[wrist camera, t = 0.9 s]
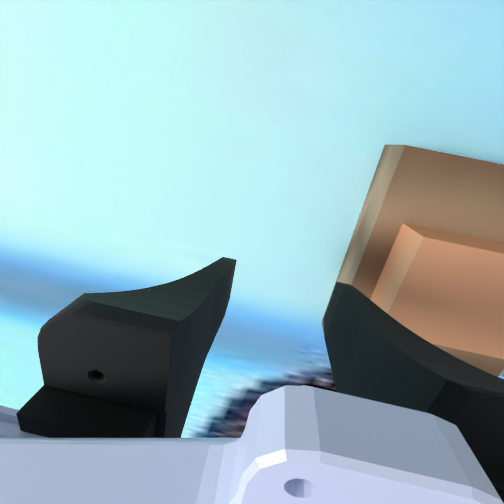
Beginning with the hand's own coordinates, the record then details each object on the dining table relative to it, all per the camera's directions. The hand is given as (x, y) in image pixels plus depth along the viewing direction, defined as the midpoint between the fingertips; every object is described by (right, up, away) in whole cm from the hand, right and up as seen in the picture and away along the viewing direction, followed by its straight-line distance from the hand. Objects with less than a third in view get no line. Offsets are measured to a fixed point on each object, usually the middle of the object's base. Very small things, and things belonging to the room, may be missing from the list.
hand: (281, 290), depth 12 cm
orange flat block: (+11, 0, +5) cm, 12 cm away
